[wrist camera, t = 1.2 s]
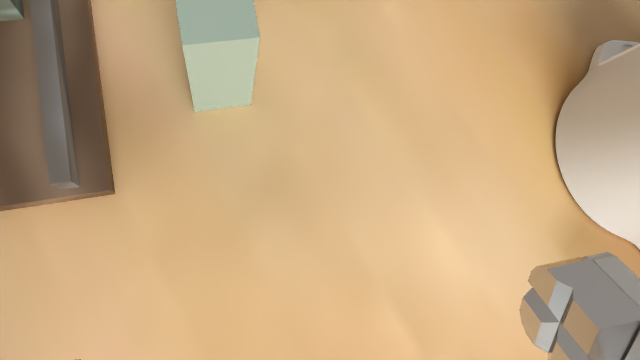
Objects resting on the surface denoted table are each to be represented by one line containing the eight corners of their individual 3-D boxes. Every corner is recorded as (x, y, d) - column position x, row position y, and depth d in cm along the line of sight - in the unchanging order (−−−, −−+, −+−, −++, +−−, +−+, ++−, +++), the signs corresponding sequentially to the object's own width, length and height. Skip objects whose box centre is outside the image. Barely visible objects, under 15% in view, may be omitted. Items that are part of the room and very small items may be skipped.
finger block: (241, 49, 39) (246, -38, 28) (250, 104, 38) (260, 37, 28) (185, 55, 38) (170, -32, 28) (194, 111, 38) (182, 45, 27)
